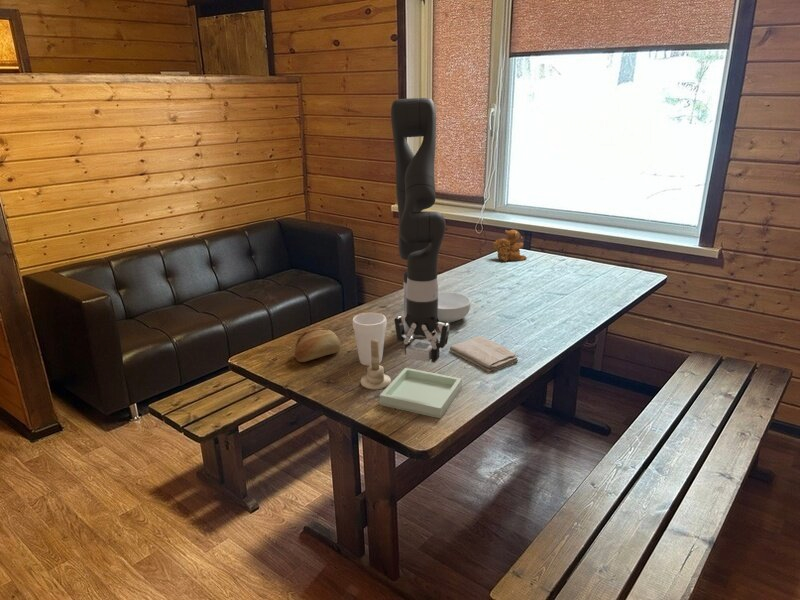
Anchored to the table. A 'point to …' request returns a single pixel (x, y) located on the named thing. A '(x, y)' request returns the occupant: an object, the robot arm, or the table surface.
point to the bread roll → (316, 344)
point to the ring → (419, 350)
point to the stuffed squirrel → (509, 247)
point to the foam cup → (369, 334)
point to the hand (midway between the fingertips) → (421, 358)
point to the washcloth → (484, 353)
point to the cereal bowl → (452, 306)
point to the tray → (421, 392)
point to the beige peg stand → (375, 371)
